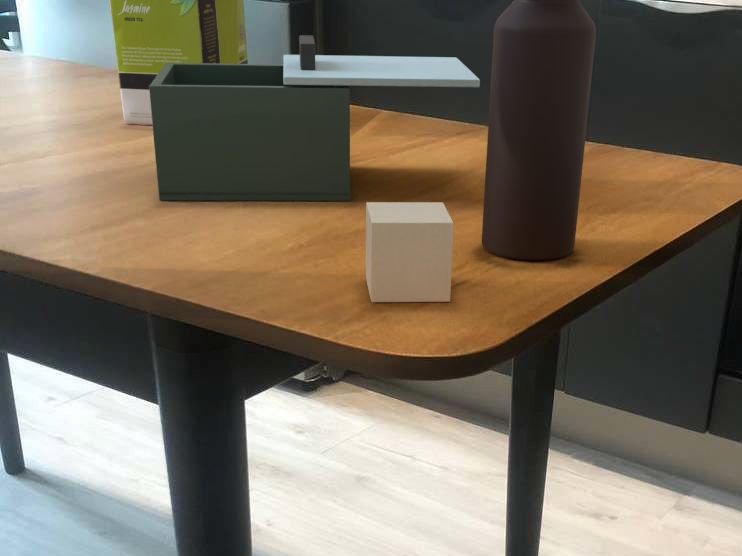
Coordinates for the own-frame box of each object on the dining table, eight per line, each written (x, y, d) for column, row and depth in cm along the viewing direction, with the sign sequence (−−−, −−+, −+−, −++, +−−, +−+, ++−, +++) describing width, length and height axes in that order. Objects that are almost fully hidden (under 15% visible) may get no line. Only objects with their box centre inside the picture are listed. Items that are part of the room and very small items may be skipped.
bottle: (582, 263, 76) (616, -59, 66) (486, 262, 76) (506, -62, 66) (565, 237, 82) (594, -62, 72) (476, 235, 82) (493, -65, 72)
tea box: (171, 102, 130) (160, -37, 122) (252, 107, 128) (246, -33, 121) (120, 124, 117) (104, -30, 109) (209, 129, 115) (199, -26, 108)
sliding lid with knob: (283, 84, 85) (282, 49, 84) (283, 61, 97) (282, 30, 96) (479, 87, 87) (481, 52, 85) (456, 64, 98) (457, 33, 97)
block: (371, 302, 68) (371, 222, 65) (365, 278, 72) (366, 202, 70) (450, 302, 68) (453, 222, 66) (440, 277, 73) (443, 202, 70)
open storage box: (159, 200, 89) (148, 85, 84) (173, 164, 100) (165, 62, 96) (350, 201, 90) (349, 88, 86) (342, 165, 102) (341, 65, 97)
